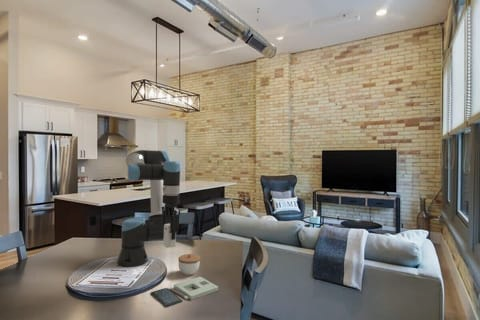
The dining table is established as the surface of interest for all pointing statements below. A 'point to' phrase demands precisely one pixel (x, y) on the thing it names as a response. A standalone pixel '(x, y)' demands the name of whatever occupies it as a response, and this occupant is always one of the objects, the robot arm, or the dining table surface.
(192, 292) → the outlet plate
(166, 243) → the block
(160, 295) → the phone
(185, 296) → the grey pen
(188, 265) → the lidded jar
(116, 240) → the dining table surface
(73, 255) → the dining table surface
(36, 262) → the dining table surface
